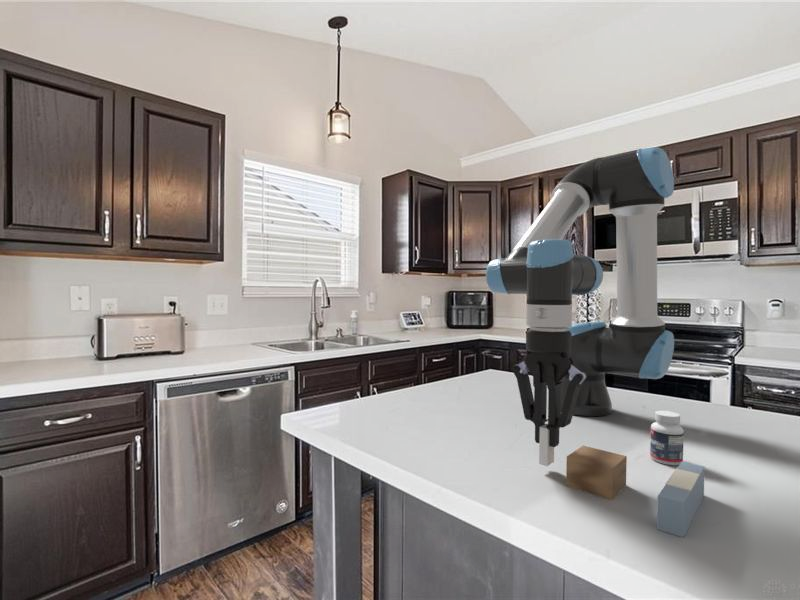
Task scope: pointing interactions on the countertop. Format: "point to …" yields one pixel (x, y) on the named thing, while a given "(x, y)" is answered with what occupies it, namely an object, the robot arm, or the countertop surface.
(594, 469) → the walnut block
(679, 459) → the pill bottle
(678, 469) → the blue and cream block
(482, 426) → the countertop surface
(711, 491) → the countertop surface
